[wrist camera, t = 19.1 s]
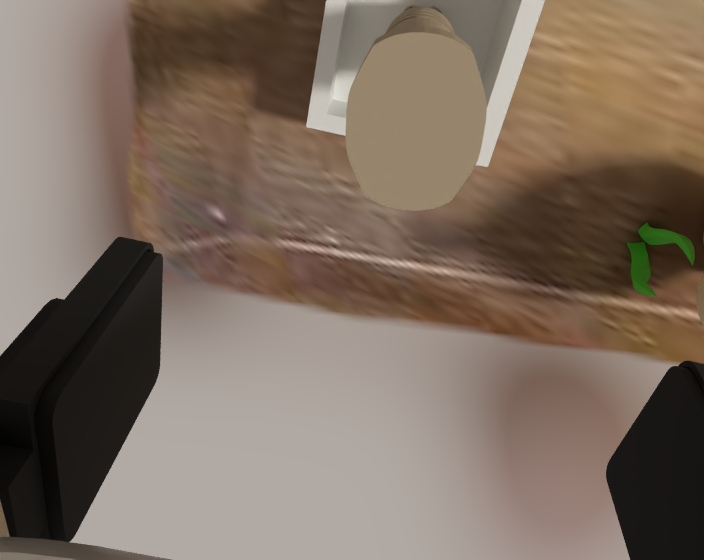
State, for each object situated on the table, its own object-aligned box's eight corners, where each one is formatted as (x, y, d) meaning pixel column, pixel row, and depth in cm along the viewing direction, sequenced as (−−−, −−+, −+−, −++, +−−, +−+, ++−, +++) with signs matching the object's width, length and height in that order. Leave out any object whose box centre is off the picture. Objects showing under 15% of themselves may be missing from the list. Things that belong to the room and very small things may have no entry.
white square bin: (349, -100, 32) (335, -95, 27) (538, -56, 32) (559, -43, 27) (315, 107, 38) (298, 143, 33) (474, 143, 38) (481, 184, 33)
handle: (372, 88, 36) (342, 204, 24) (380, -34, 33) (350, 26, 20) (456, 95, 36) (469, 216, 23) (473, -28, 32) (500, 37, 20)
